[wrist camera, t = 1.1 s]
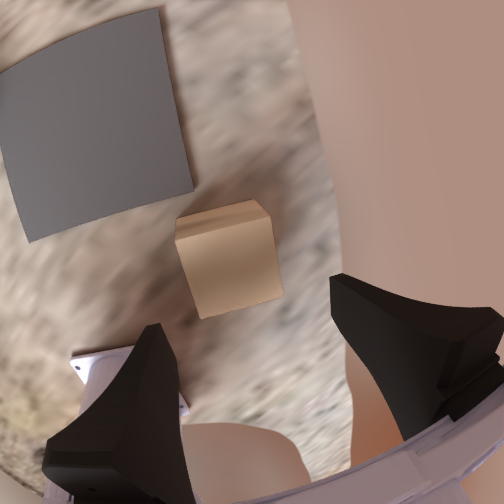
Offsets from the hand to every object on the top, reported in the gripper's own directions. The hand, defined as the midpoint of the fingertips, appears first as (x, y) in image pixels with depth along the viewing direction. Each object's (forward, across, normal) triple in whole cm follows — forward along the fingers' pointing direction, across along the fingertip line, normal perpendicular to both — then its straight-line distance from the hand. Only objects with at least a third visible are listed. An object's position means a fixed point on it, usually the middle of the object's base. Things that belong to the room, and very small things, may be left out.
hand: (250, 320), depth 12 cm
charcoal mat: (+8, +7, -10) cm, 15 cm away
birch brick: (+8, 0, 0) cm, 8 cm away
